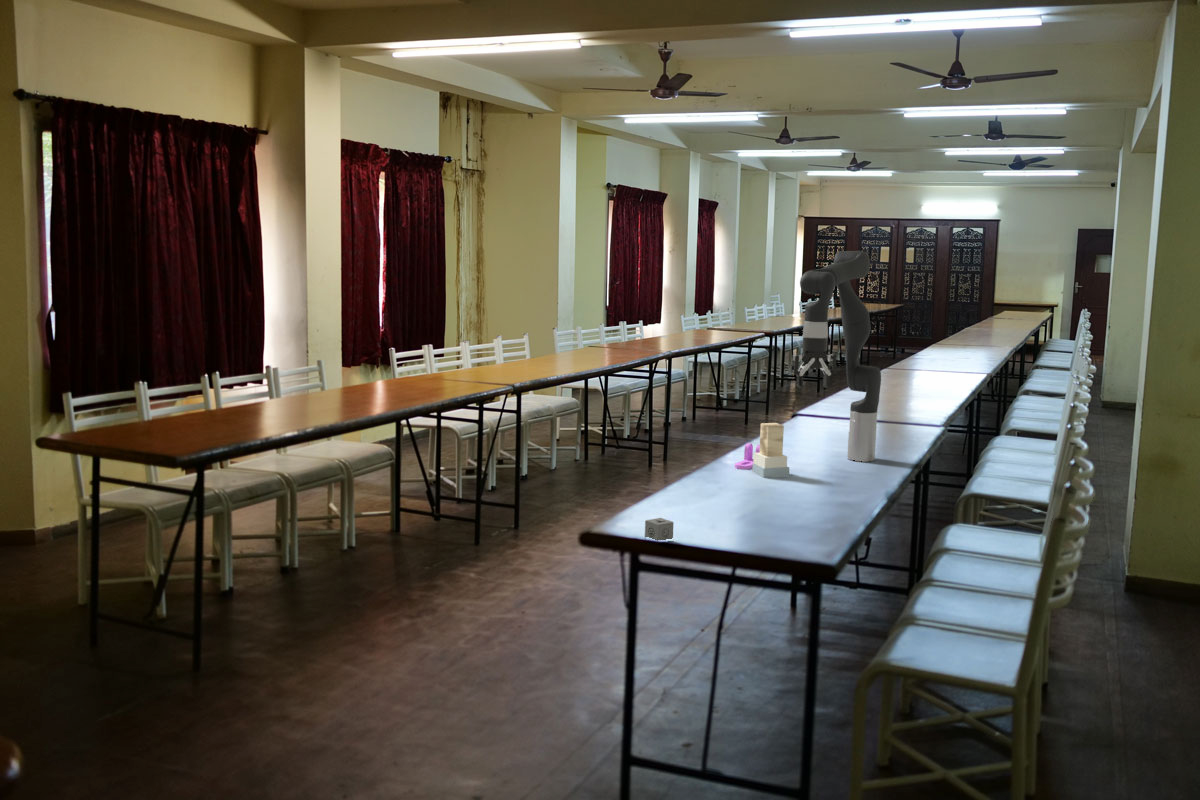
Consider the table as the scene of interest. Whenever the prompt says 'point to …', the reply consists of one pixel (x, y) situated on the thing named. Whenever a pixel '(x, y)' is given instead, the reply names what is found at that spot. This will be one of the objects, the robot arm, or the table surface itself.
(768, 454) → the maple pillar
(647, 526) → the dice cube
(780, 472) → the tower base
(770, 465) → the tower top
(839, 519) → the table surface
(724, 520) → the table surface
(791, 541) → the table surface
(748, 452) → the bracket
